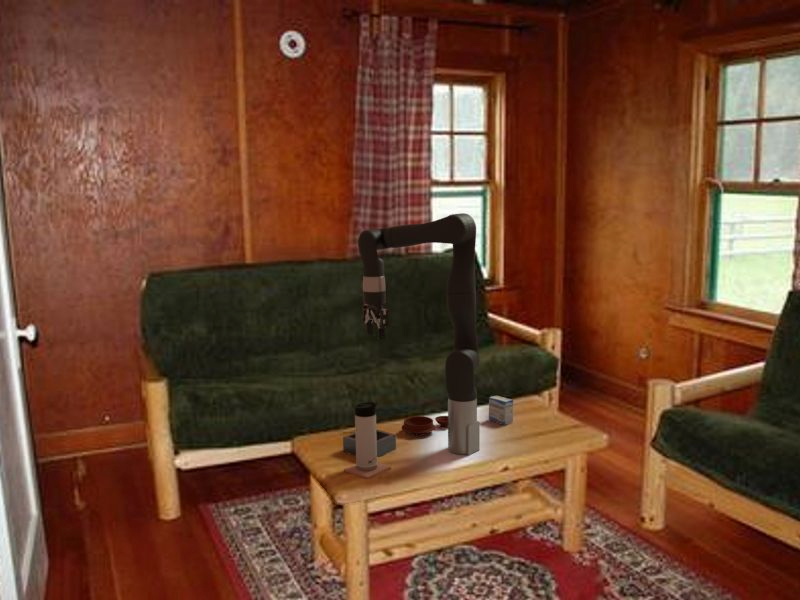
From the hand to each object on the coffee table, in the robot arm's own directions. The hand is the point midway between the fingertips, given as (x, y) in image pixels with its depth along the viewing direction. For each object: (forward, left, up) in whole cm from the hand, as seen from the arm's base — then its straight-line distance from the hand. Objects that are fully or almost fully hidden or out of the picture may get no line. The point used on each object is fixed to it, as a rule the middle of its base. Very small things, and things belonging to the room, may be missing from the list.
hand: (375, 336), depth 243 cm
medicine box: (-27, -36, -34) cm, 57 cm away
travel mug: (-19, +26, -33) cm, 46 cm away
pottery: (-12, -13, -34) cm, 39 cm away
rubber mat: (-19, +26, -34) cm, 47 cm away
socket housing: (-9, +14, -34) cm, 38 cm away
